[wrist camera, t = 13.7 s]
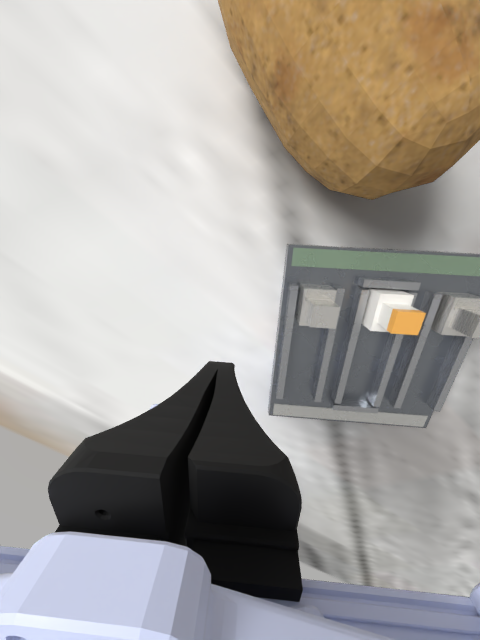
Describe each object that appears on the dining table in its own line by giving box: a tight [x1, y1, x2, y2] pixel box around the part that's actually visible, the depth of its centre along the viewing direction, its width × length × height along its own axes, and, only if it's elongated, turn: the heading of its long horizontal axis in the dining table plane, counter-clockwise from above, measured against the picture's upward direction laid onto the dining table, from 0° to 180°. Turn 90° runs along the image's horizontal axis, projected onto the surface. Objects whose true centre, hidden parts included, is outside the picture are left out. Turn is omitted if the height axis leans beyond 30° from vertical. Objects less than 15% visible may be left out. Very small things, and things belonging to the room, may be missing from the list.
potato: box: [218, 0, 480, 200], centre depth 11 cm, size 9×16×9 cm, turn 34°
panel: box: [268, 244, 480, 428], centre depth 19 cm, size 17×16×5 cm
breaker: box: [361, 288, 426, 335], centre depth 17 cm, size 3×2×4 cm
